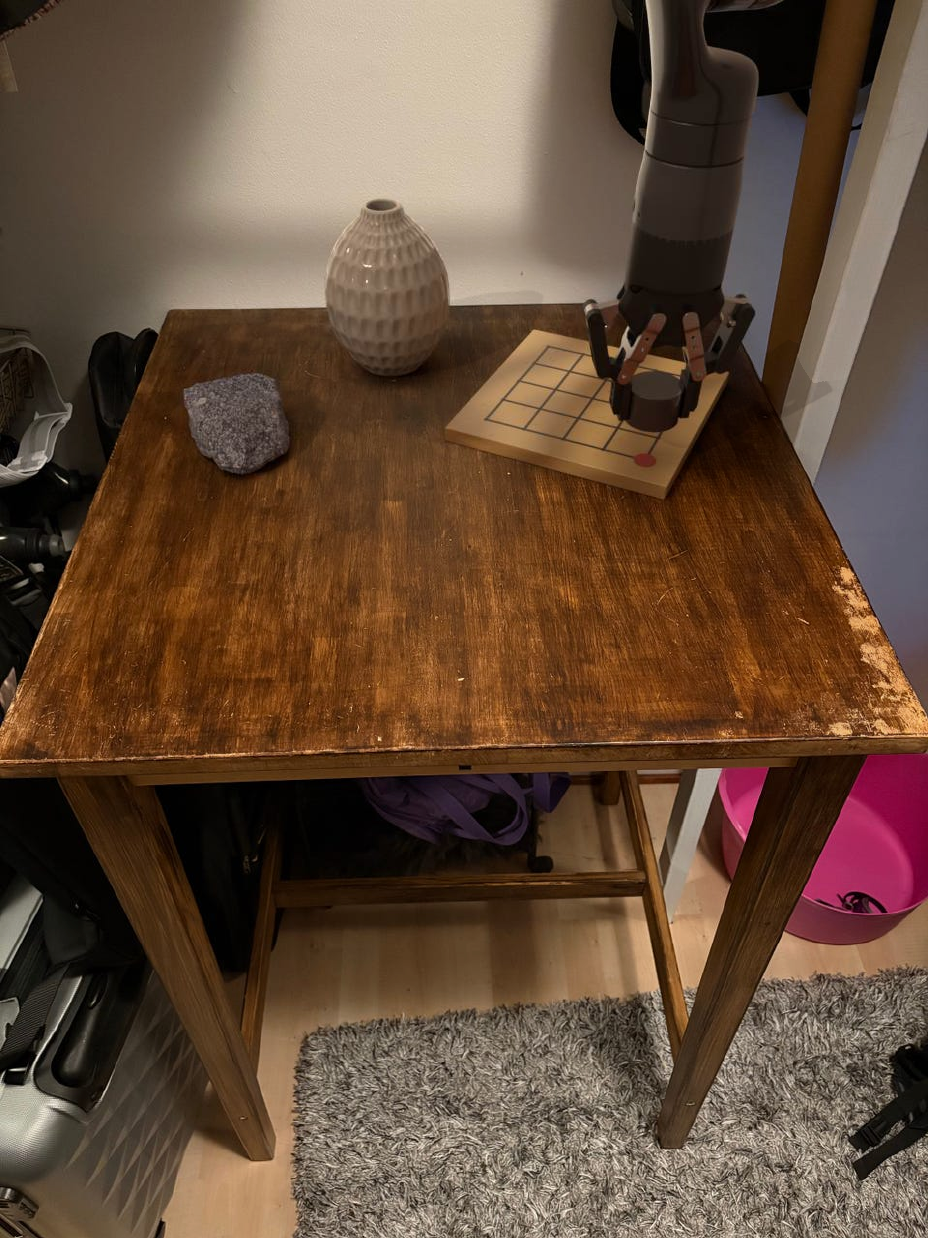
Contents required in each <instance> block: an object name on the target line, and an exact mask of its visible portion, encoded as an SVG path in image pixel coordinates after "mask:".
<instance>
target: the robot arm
mask: <svg viewBox="0 0 928 1238" xmlns="http://www.w3.org/2000/svg"><path fill="white" fill-rule="evenodd" d="M783 1H784V0H645V7H646V12H647V13H646V15H647V21H648V22H647V23H648V24H647V25H648V34H649V48H650V62H651V63H650V64H651V96H650V103H649V110H648V118H647V126H646V134H645V140H644V141H645V142H644V150H643V156H642V160H641V163H640V167H639V171H638V174H637V175H638V176H637V179H636V184H635V185H636V186H635V193H634V197H633V199H632V205H631V210H632V219H631V227H630V234H629V241H628V249H627V250H628V251H627V259H626V266H625V274H624V281H623V284H622V286H621V288H620V290H619V291H618V293H617V295H616V297H615V298H611V299H609V300H604V301H601V302H597V300H595V299H593V298H589V299H587V300H585V301H584V302H583V303H582V304H583V305H582V311H583V316H584V323H585V328H586V334H587V341H589V346H590V351H591V357H592V361H593V364H594V367H595V370H596V373H597V376H598V377H599V378H602V379H604V378H611V379H612V380H611V388H610V396H609V403H610V406H611V409H612V412H613V415H617V418H618V421H627V419H628V413H629V406H630V399H631V392H632V382H631V379H632V377H633V375H634V373H635V371H636V369H637V368H638V366H639V364H640V363H642V362H643V361H644V360H645V358H646V356H647V354H648V355H649V352H650V351H651V349H659V348H661V347H665V346H670V347H672V348H682V354H683V358H684V359H683V360H684V362H685V364H686V367H685V369H681V375H680V380H681V382H682V383H683V385H684V393H683V398H682V403H681V409H680V414H679V418H689V414H690V412H694V411H695V409H696V408H697V405H698V400H699V395H700V390H701V385H702V381H703V379H705V377H706V376H707V375H709V374H712V373H715V372H716V373H717V374H723V373H725V372H728V370H729V369H730V366H731V365H732V362H733V360H734V359H735V356H736V354H737V352H738V350H739V348H740V346H741V345H742V342H743V341H744V338H745V336H746V335H747V332H748V330H749V328H750V327H751V324H752V322H753V321H754V319H755V316H756V310H755V308H754V307H753V306H754V305H752V303H751V301H750V300H749V298H747V295H745V293H738V294H736V295H735V296H729V295H726V294H724V291H723V288H722V285H723V282H724V279H725V273H726V268H727V264H728V259H729V254H730V248H731V244H732V239H733V234H734V230H735V225H736V219H737V214H738V209H739V204H740V199H741V194H742V190H743V189H742V188H743V176H744V174H743V173H744V165H745V164H744V163H745V157H746V151H747V147H748V141H749V136H750V131H751V125H752V122H753V116H754V111H755V106H756V100H757V95H758V90H759V82H760V81H759V79H760V77H759V70H758V67H757V64H755V61H753V59H751V58H750V57H748V56H746V55H744V54H742V53H740V52H737V51H733V50H731V49H730V50H728V49H724V48H720V47H715V46H709V45H708V44H707V41H706V37H705V31H704V19H705V13H720V12H732V11H733V12H734V11H752V10H762V9H766V8H770V7H772V6H776V5H777V4H779V3H781V2H783ZM719 313H720V316H719V317H720V320H721V323H720V325H719V327H718V330H717V332H716V333H715V335H714V338H713V340H712V342H711V344H710V346H709V348H708V351H706V352H705V351H704V346H703V339H702V335H701V332H702V331H703V330H704V329H705V328H706V327H707V326H708V325H709V324H710V323H711V322H712V321H713V320H714V318H716V317H717V316H718V314H719ZM618 315H620V317H622V319H623V321H624V322H625V324H626V326H627V327H626V329H625V331H624V333H623V335H622V336H621V340H620V346H619V347H618V348H619V350H618V352H617V354H616V356H615V358H613V357H610V356H609V353H608V347H607V346H608V342H607V336H606V335H607V334H606V332H609V331H610V330H611V329H612V327H613V326H614V325H613V324H614V319H615V317H616V316H618Z"/></svg>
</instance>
